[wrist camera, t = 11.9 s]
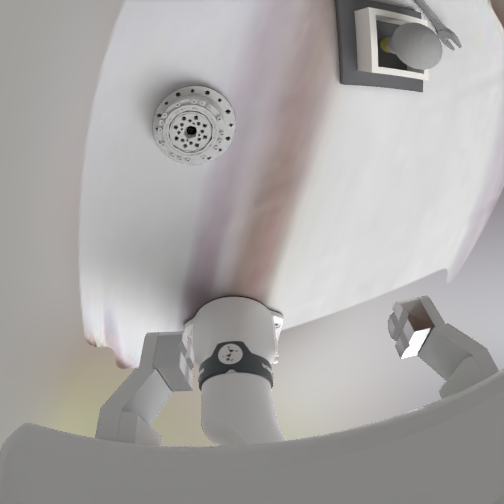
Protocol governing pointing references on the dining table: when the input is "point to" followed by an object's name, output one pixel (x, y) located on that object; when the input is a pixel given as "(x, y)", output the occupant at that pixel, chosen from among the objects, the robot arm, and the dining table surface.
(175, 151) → the mechanical component
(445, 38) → the combination wrench
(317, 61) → the dining table surface
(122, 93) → the dining table surface
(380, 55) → the lamp base
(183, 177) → the dining table surface
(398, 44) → the light bulb
